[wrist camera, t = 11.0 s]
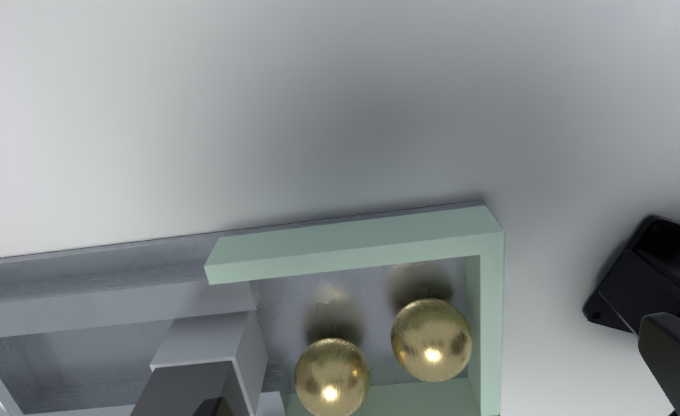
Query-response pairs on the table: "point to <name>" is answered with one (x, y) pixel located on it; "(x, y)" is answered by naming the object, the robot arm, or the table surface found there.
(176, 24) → the table surface
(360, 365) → the brass sphere
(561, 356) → the table surface
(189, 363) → the tall gray pillar
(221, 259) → the tray
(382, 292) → the slot rail
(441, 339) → the gold ball
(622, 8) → the table surface
